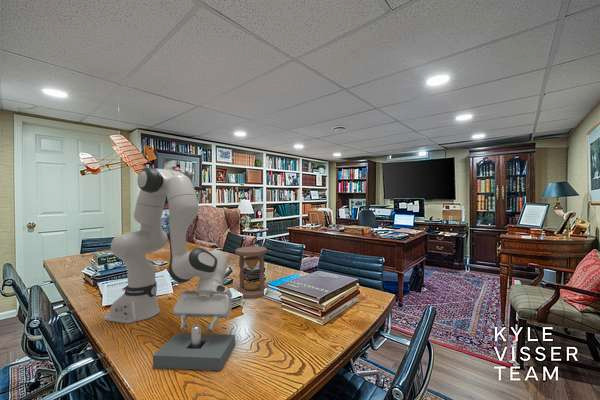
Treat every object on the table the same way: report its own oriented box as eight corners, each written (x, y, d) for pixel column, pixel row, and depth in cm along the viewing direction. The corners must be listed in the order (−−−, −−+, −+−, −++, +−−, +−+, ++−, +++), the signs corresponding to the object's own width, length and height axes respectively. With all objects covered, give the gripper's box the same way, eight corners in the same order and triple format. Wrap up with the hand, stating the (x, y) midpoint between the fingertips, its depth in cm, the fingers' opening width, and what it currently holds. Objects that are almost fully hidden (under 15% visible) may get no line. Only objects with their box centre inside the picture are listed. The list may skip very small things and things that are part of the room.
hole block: (153, 368, 83) (152, 355, 83) (177, 343, 97) (177, 332, 97) (220, 370, 82) (220, 358, 82) (235, 345, 96) (235, 334, 96)
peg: (190, 358, 88) (189, 328, 88) (194, 353, 91) (194, 324, 91) (198, 358, 88) (198, 329, 88) (202, 353, 91) (202, 324, 91)
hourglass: (273, 291, 152) (273, 247, 152) (252, 301, 137) (252, 253, 137) (251, 285, 161) (250, 245, 161) (229, 294, 146) (228, 250, 146)
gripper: (178, 286, 98) (163, 325, 88) (232, 287, 96) (222, 327, 87) (185, 294, 102) (170, 331, 93) (236, 295, 101) (227, 334, 91)
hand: (196, 329), depth 90 cm, fingers open, 8 cm apart
